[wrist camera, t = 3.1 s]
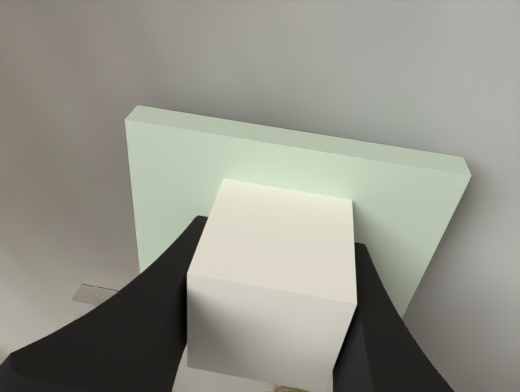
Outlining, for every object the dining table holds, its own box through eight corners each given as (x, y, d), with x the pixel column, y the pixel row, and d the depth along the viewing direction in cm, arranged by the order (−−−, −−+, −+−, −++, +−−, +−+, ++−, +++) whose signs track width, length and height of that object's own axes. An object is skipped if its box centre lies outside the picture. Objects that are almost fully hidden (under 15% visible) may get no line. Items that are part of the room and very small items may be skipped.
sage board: (150, 262, 17) (94, 375, 14) (137, 105, 13) (52, 201, 9) (394, 306, 17) (412, 437, 13) (463, 157, 13) (520, 283, 9)
